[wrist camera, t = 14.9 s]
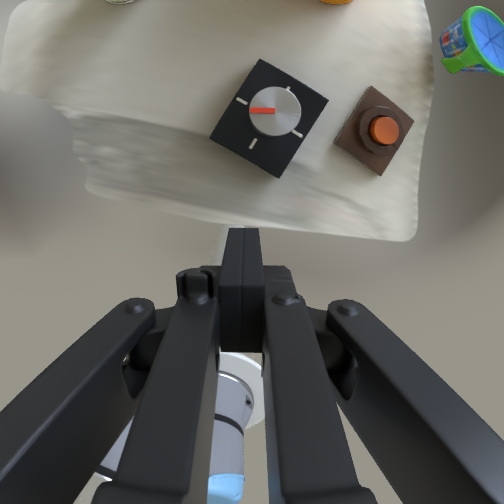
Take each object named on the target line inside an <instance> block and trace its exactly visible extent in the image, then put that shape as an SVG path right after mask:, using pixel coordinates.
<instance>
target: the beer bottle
mask: <svg viewBox="0 0 504 504" xmlns="http://www.w3.org/2000/svg"><path fill="white" fill-rule="evenodd" d="M320 1H322V2H326V3H330V4H345V3H348V2H351V1H352V0H320Z"/></svg>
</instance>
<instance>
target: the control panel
mask: <svg viewBox="0 0 504 504" xmlns="http://www.w3.org/2000/svg"><path fill="white" fill-rule="evenodd" d="M268 87H281V88H284V89H287V90H289V91H290V92H291V93H293V94H294V95H295V97H296V98H297V99H298V101H299V103H300V107H301V117H300V120H299V123H298V124H297V126H296V127H295V128H294V129H293V130H292V131H291V132H289V133H287V134H285V135H281V136H275V137H266V136H262V135H260V134H258V133H257V132H256V131H255V130H254V129H253V128H252V126H251V124H250V121H249V107H250V103H251V101H252V99H253V97H254V96H255V95H256V94H257V93H258V92H259V91H261V90H263V89H265V88H268ZM328 101H329V100H328V99H326V98H325V97H323V96H322V95H320V94H319V93H317V92H316V91H314V90H313V89H311V88H309V87H308V86H306V85H305V84H303V83H301V82H300V81H298V80H297V79H295V78H293V77H292V76H290V75H288V74H286V73H285V72H283V71H281V70H280V69H278V68H276V67H274V66H273V65H271V64H269V63H267V62H265V61H263V60H262V59H259V60H258V62H257V63H256V65H255V66H254V68H253V69H252V71H251V72H250V74H249V75H248V77H247V78H246V80H245V81H244V83H243V84H242V86H241V87H240V89H239V90H238V92H237V93H236V95H235V97H234V98H233V100H232V101H231V103H230V104H229V106H228V108H227V109H226V111H225V112H224V114H223V116H222V117H221V119H220V121H219V122H218V124H217V126H216V127H215V129H214V131H213V132H212V134H211V136H210V137H209V139H211V140H213V141H215V142H217V143H219V144H220V145H222V146H224V147H226V148H227V149H229V150H231V151H233V152H235V153H236V154H238V155H240V156H242V157H243V158H245V159H247V160H248V161H250V162H252V163H254V164H255V165H257V166H259V167H260V168H262V169H264V170H265V171H267V172H269V173H270V174H272V175H274V176H275V177H277V178H280V177H281V175H282V173H283V172H284V170H285V169H286V167H287V165H288V164H289V162H290V161H291V159H292V158H293V156H294V154H295V153H296V151H297V150H298V148H299V147H300V145H301V143H302V142H303V140H304V139H305V137H306V136H307V134H308V132H309V131H310V129H311V128H312V126H313V125H314V123H315V121H316V120H317V118H318V117H319V115H320V114H321V112H322V111H323V109H324V107H325V106H326V104H327V103H328Z"/></svg>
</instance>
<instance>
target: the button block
mask: <svg viewBox="0 0 504 504" xmlns="http://www.w3.org/2000/svg"><path fill="white" fill-rule="evenodd" d="M379 117H389V118H391V119H393V120H394V121H395V122H396V124H397V125H398V129H399V135H398V138H397V140H396V141H395V142H394V143H392V144H379V143H377V142H375V141H374V140H373V138H372V137H371V135H370V124H371V122H372V121H373V120H374V119H376V118H379ZM413 123H414V120H413V119H412V118H411V117H409V116H408V115H407V114H406V113H405V112H404V111H402V110H401V109H400V108H399V107H398V106H397V105H395V104H394V103H393V102H392V101H390V100H389V99H388V98H387V97H385V96H384V95H383V94H382V93H380V92H379V91H378V90H377V89H375V88H374V87H373V86H370V87H368V89H367V90H366V92H365V94H364V95H363V97H362V98H361V100H360V102H359V103H358V105H357V106H356V108H355V109H354V111H353V113H352V114H351V116H350V117H349V119H348V121H347V122H346V124H345V125H344V127H343V128H342V130H341V132H340V133H339V135H338V136H337V138H336V139H335V141H334V144H336V145H337V146H338V147H340V148H341V149H343V150H344V151H346V152H347V153H348V154H350V155H351V156H352V157H354V158H355V159H357V160H358V161H359V162H361V163H362V164H363V165H365V166H366V167H367V168H369V169H370V170H371V171H373V172H374V173H375V174H377V175H378V176H382V174H383V172H384V171H385V169H386V168H387V166H388V164H389V163H390V161H391V159H392V158H393V156H394V155H395V153H396V151H397V150H398V149H399V147H400V145H401V144H402V142H403V140H404V138H405V136H406V135H407V133H408V131H409V129H410V128H411V126H412V124H413Z"/></svg>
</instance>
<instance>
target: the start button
mask: <svg viewBox="0 0 504 504" xmlns="http://www.w3.org/2000/svg"><path fill="white" fill-rule="evenodd" d="M370 135H371V137H372V138H373V140H374V141H375V142H377V143H379V144H392V143H394V142H395V141H396V140H397V138H398V135H399V129H398V125H397V124H396V122H395V121H394V120H393V119H391V118H389V117H379V118H376V119H374V120H373V121H372V122H371V124H370Z"/></svg>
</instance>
